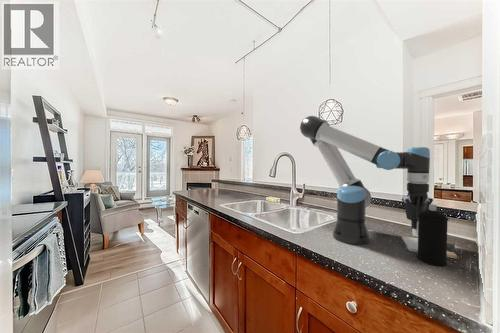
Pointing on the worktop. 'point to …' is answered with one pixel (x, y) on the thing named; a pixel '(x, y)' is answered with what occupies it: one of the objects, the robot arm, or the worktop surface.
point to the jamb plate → (411, 243)
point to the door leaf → (451, 250)
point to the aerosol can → (432, 237)
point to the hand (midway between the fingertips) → (416, 235)
